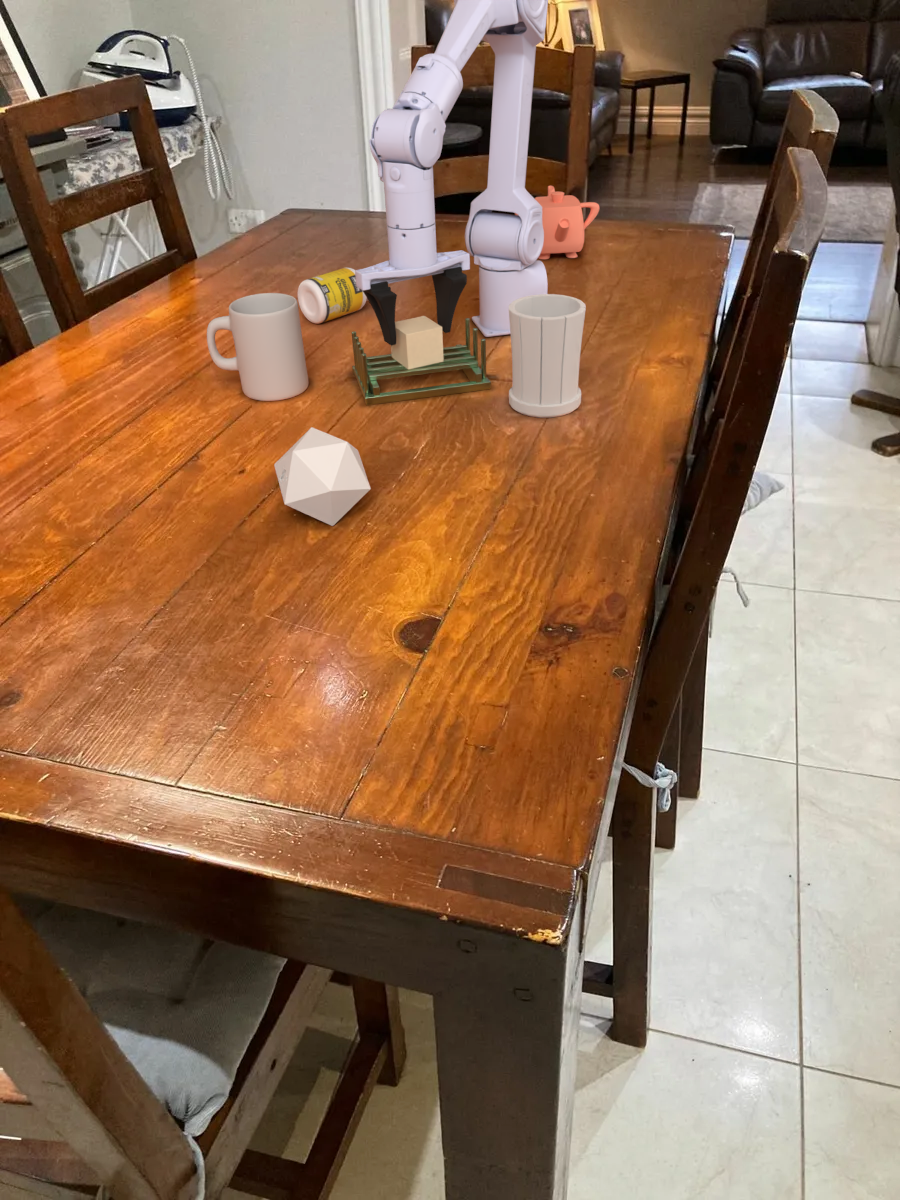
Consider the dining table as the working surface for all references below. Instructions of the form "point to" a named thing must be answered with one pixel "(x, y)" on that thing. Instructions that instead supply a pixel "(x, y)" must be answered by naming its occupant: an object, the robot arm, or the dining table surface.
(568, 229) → the teapot
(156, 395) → the dining table surface
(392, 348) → the box
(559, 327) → the cup
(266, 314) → the mug
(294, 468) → the die
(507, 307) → the robot arm
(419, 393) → the dish rack
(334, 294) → the pill bottle
